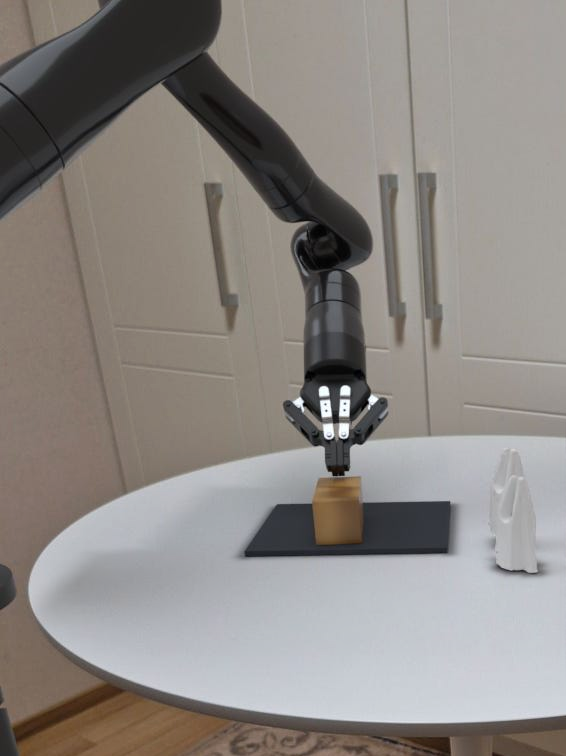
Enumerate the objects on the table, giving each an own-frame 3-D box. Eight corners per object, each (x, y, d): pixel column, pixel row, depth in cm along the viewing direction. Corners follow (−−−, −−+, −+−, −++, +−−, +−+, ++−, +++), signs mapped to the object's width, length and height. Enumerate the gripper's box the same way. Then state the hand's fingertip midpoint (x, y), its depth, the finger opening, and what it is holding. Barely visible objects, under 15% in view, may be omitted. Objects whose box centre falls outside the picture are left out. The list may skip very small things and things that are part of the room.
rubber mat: (244, 556, 96) (244, 551, 96) (277, 508, 113) (276, 503, 112) (447, 552, 96) (447, 547, 96) (450, 505, 113) (450, 500, 113)
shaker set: (487, 537, 101) (486, 440, 96) (524, 536, 101) (524, 439, 96) (498, 575, 90) (497, 467, 85) (539, 573, 90) (540, 465, 86)
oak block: (322, 518, 106) (316, 545, 97) (318, 477, 104) (311, 501, 95) (363, 516, 107) (362, 543, 98) (361, 476, 105) (358, 499, 96)
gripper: (275, 330, 105) (275, 457, 99) (387, 328, 106) (394, 453, 100) (284, 370, 112) (285, 491, 106) (389, 367, 113) (396, 487, 107)
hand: (338, 472), depth 103 cm, fingers closed
